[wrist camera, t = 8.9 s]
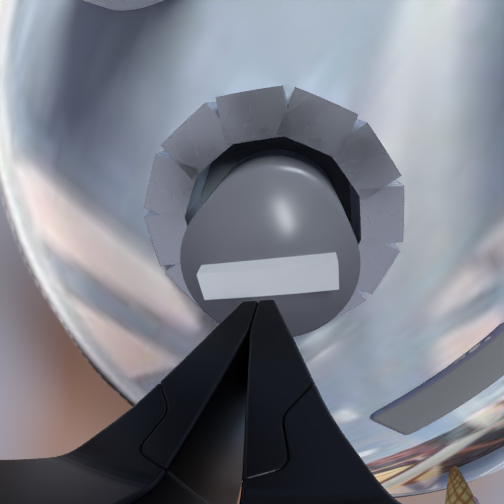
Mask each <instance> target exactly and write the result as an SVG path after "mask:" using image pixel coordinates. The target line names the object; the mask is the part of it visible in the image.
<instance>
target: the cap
mask: <svg viewBox="0 0 504 504" xmlns="http://www.w3.org/2000/svg"><path fill="white" fill-rule="evenodd" d="M180 263H181V271H182V274H183V278H184V281H185V284H186V286H187V288H188V290H189V292H190V294H191V295H192V297H193V298H194V300H195V301H196V302H197V304H198V305H199V306H200V307H201V308H202V309H203V310H204V311H205V312H206V313H207V314H208V315H209V316H210V317H212V318H213V319H214V320H216V321H217V322H219V323H221V322H222V321H223V320H224V319H225V318H226V317H227V316H228V315H229V314H230V313H231V312H232V311H233V310H234V309H235V308H236V307H237V306H238V305H239V304H240V303H241V302H243V301H251V300H257V301H258V302H259V301H260V300H266V299H274V300H275V301H276V303H277V305H278V308H279V310H280V312H281V314H282V316H283V318H284V320H285V322H286V324H287V326H288V328H289V331H290V333H291V335H292V337H294V336H299V335H302V334H305V333H308V332H311V331H313V330H316V329H318V328H320V327H321V326H323V325H325V324H326V323H328V322H329V321H331V320H332V319H333V318H334V317H336V316H337V315H338V314H339V313H340V312H341V311H342V310H343V309H344V307H345V306H346V305H347V303H348V302H349V300H350V299H351V297H352V295H353V293H354V291H355V289H356V286H357V284H358V279H359V275H360V265H361V262H360V251H359V247H358V243H357V240H356V238H355V235H354V233H353V230H352V228H351V225H350V223H349V221H348V218H347V216H346V214H345V212H344V209H343V207H342V205H341V203H340V200H339V198H338V196H337V194H336V191H335V189H334V187H333V185H332V183H331V181H330V179H329V178H328V176H327V174H326V173H325V172H324V171H323V170H322V168H321V167H320V166H318V165H317V164H316V163H315V162H314V161H312V160H311V159H309V158H307V157H305V156H303V155H301V154H299V153H296V152H293V151H288V150H279V149H274V150H265V151H260V152H257V153H254V154H252V155H250V156H248V157H246V158H244V159H243V160H241V161H240V162H239V163H238V164H236V165H235V166H234V167H233V168H232V169H231V171H230V172H229V173H228V174H227V176H226V177H225V178H224V179H223V180H222V182H221V183H220V184H219V185H218V187H217V188H216V189H215V190H214V191H213V193H212V194H211V195H210V196H209V198H208V199H207V200H206V201H205V203H204V204H203V205H202V207H201V208H200V209H199V210H198V212H197V213H196V214H195V216H194V217H193V218H192V220H191V221H190V223H189V225H188V227H187V229H186V231H185V234H184V237H183V239H182V244H181V250H180Z"/></svg>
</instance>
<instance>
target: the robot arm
mask: <svg viewBox="0 0 504 504" xmlns="http://www.w3.org/2000/svg"><path fill="white" fill-rule="evenodd" d="M242 481H243V482H242ZM241 483H242V490H241V498H240V503H239V504H401V503H400V502H398V501H397V500H396V499H395V498H394V497H392V496H391V495H390V494H389V493H388V492H387V491H386V490H385V489H384V487H383V486H382V485H381V484H380V483H379V482H378V480H377V479H376V478H375V477H374V475H373V474H372V473H371V471H370V470H369V469H368V467H367V466H366V465H365V463H364V462H363V460H362V459H361V458H360V456H359V455H358V454H357V452H356V451H355V449H354V448H353V447H352V445H351V444H350V443H349V441H348V440H347V438H346V437H345V436H344V434H343V433H342V431H341V430H340V428H339V427H338V425H337V423H336V422H335V420H334V419H333V417H332V416H331V414H330V412H329V410H328V408H327V406H326V405H325V403H324V401H323V399H322V397H321V395H320V393H319V391H318V389H317V387H316V386H315V383H314V381H313V379H312V377H311V375H310V372H309V370H308V368H307V366H306V364H305V362H304V360H303V358H302V356H301V354H300V352H299V349H298V347H297V345H296V343H295V341H294V339H293V337H292V335H291V333H290V331H289V328H288V326H287V324H286V322H285V320H284V318H283V316H282V314H281V312H280V310H279V308H278V305H277V303H276V301H275V300H274V299H266V300H260V301H259V302H258V301H257V300H251V301H243V302H241V303H240V304H239V305H238V306H237V307H236V308H235V309H234V310H233V311H232V312H231V313H230V314H229V315H228V316H227V317H226V318H225V319H224V320H223V321H222V322H221V323H220V324H219V325H218V326H217V327H216V328H215V329H214V330H213V331H212V332H211V333H210V334H209V335H208V336H207V337H206V338H205V339H204V340H203V341H202V342H201V343H200V344H199V345H198V346H197V347H196V348H195V349H194V350H193V351H192V352H191V353H190V354H189V355H188V356H187V357H186V358H185V359H184V360H183V361H182V362H181V363H180V364H178V365H177V366H176V367H175V368H174V369H173V370H172V371H171V372H170V373H169V374H168V375H167V376H166V377H165V378H164V379H163V380H162V381H161V384H158V385H156V386H155V387H154V388H153V389H152V390H151V391H150V392H149V393H148V394H147V395H146V396H145V397H144V398H142V399H141V400H140V401H139V402H138V403H137V404H136V405H135V406H133V407H132V408H131V409H130V410H129V411H127V412H126V413H125V414H123V415H122V416H121V417H120V418H118V419H117V420H116V421H115V422H113V423H112V424H110V425H109V426H108V427H106V428H105V429H104V430H102V431H101V432H100V433H98V434H97V435H95V436H94V437H93V438H91V439H90V440H89V441H87V442H86V443H84V444H83V445H82V446H80V447H78V448H77V449H75V450H73V451H71V452H70V453H67V454H64V455H61V456H57V457H50V458H38V459H22V460H21V459H20V460H0V504H237V501H238V496H239V492H240V487H241Z"/></svg>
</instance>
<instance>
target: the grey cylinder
mask: <svg viewBox="0 0 504 504" xmlns="http://www.w3.org/2000/svg"><path fill="white" fill-rule="evenodd" d="M82 1H86V2H89V3H92V4H95V5H98V6H101V7H104V8H107V9H111V10H118V11H128V10H135V9H140V8H145V7H148V6H151V5H154V4H157V3H159V2H161V1H164V0H82Z"/></svg>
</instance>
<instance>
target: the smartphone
mask: <svg viewBox="0 0 504 504" xmlns="http://www.w3.org/2000/svg"><path fill="white" fill-rule="evenodd" d="M503 375H504V323H502V324H501V325H499V326H498V327H497V328H496V329H495V330H494V331H493V332H491V333H490V334H489V335H488V336H487V337H486V338H484V339H483V340H482V341H481V342H479V343H478V344H477V345H476V346H474V347H473V348H472V349H471V350H469V351H468V352H467V353H466V354H464V355H463V356H461V357H460V358H459V359H457V360H456V361H455V362H454V363H452V364H451V365H449V366H448V367H447V368H445V369H444V370H442V371H441V372H439V373H438V374H437V375H435V376H434V377H432V378H431V379H429V380H428V381H426V382H425V383H423V384H421V385H420V386H418V387H417V388H415V389H414V390H412V391H410V392H409V393H407V394H405V395H404V396H402V397H400V398H399V399H397V400H395V401H394V402H392V403H390V404H388V405H387V406H385V407H383V408H381V409H379V410H378V411H376V412H374V413H373V414H372V416H371V419H372V420H373V421H376V422H378V423H380V424H382V425H384V426H386V427H388V428H391V429H393V430H395V431H397V432H400V433H402V434H404V435H408V434H411V433H413V432H415V431H417V430H419V429H421V428H423V427H425V426H427V425H429V424H430V423H432V422H434V421H436V420H437V419H439V418H441V417H443V416H444V415H446V414H448V413H449V412H451V411H453V410H454V409H456V408H458V407H459V406H461V405H462V404H464V403H465V402H467V401H468V400H470V399H471V398H473V397H474V396H476V395H477V394H479V393H480V392H482V391H483V390H484V389H486V388H487V387H489V386H490V385H491V384H493V383H494V382H495V381H497V380H498V379H499V378H501V377H502V376H503Z"/></svg>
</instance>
